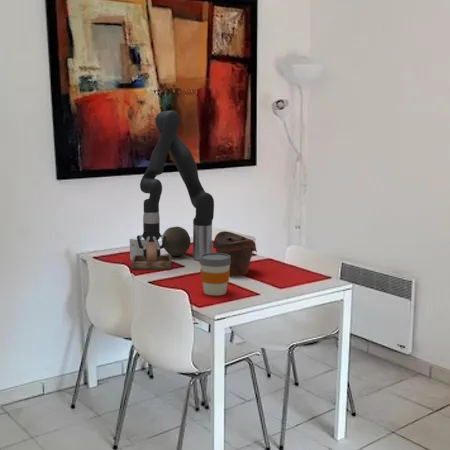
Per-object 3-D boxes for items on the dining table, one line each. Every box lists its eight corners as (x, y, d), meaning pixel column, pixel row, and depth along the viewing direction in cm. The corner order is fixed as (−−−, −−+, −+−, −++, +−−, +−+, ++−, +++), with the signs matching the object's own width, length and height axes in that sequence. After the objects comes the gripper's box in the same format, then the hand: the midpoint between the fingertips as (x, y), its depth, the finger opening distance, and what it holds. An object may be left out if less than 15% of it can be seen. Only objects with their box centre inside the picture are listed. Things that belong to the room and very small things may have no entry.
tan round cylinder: (157, 260, 295) (157, 240, 293) (157, 263, 290) (157, 242, 288) (146, 260, 295) (146, 240, 293) (145, 263, 290) (145, 242, 288)
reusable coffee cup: (193, 293, 251) (193, 257, 249) (211, 286, 262) (211, 251, 259) (219, 298, 245) (219, 261, 242) (236, 291, 255) (236, 255, 252)
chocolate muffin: (253, 279, 272) (253, 238, 269) (208, 276, 276) (208, 236, 273) (259, 269, 290) (259, 231, 287) (217, 267, 294) (217, 229, 291)
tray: (171, 262, 300) (171, 255, 300) (170, 269, 286) (170, 262, 286) (133, 262, 299) (133, 255, 299) (131, 270, 285) (131, 262, 285)
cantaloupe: (165, 252, 320) (164, 223, 317) (192, 253, 318) (192, 224, 315) (159, 259, 306) (159, 229, 303) (188, 260, 305) (188, 230, 302)
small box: (148, 257, 309) (148, 237, 307) (146, 260, 303) (145, 239, 301) (132, 257, 309) (132, 236, 307) (129, 260, 304) (129, 238, 302)
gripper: (167, 220, 293) (167, 255, 296) (136, 219, 292) (137, 255, 295) (166, 222, 286) (166, 259, 289) (135, 222, 285) (135, 259, 288)
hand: (151, 256), depth 292 cm, fingers closed on tan round cylinder, 5 cm apart
